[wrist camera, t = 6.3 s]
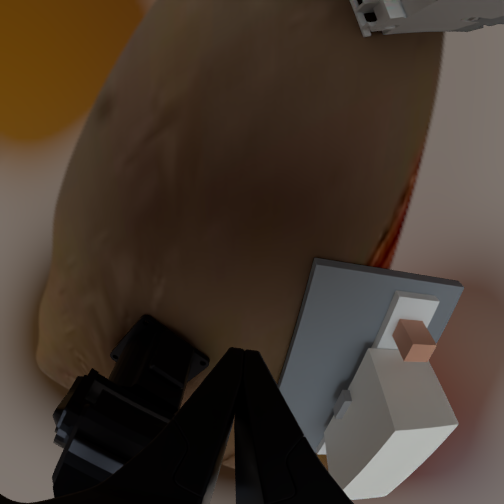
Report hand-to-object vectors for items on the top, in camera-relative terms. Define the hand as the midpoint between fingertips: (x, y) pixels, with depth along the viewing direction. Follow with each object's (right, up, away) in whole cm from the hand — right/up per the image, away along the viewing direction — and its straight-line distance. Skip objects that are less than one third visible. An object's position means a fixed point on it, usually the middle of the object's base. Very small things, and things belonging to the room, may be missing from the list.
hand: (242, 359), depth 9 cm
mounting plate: (+9, -8, +16) cm, 20 cm away
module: (+10, -9, +15) cm, 21 cm away
